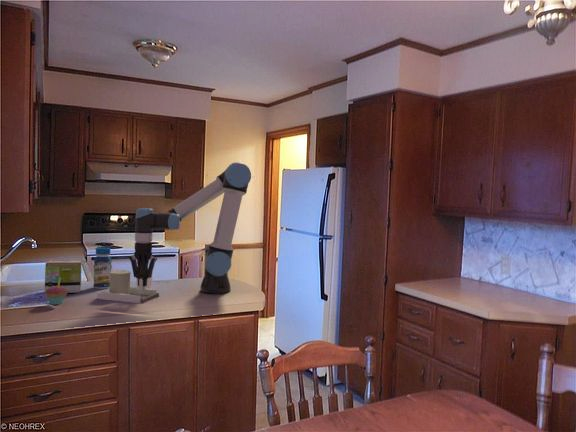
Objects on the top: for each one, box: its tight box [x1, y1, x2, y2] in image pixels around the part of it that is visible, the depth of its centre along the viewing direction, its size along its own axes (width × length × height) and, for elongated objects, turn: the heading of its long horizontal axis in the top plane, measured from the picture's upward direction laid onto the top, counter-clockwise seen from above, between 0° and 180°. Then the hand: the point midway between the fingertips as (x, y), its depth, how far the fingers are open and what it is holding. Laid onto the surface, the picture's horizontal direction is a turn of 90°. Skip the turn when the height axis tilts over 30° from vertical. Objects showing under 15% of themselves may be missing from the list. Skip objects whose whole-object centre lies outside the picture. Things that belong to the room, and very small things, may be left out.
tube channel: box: [96, 286, 157, 304], centre depth 197 cm, size 21×15×3 cm
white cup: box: [135, 271, 154, 289], centre depth 212 cm, size 8×8×10 cm
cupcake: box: [44, 278, 68, 306], centre depth 181 cm, size 9×8×12 cm
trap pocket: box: [140, 292, 160, 304], centre depth 195 cm, size 6×14×2 cm, turn 168°
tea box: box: [44, 259, 83, 294], centre depth 203 cm, size 15×10×15 cm, turn 114°
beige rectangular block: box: [108, 269, 131, 295], centre depth 197 cm, size 9×9×12 cm
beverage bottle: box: [93, 246, 113, 290], centre depth 215 cm, size 8×8×20 cm
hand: (142, 293), depth 195 cm, fingers closed
